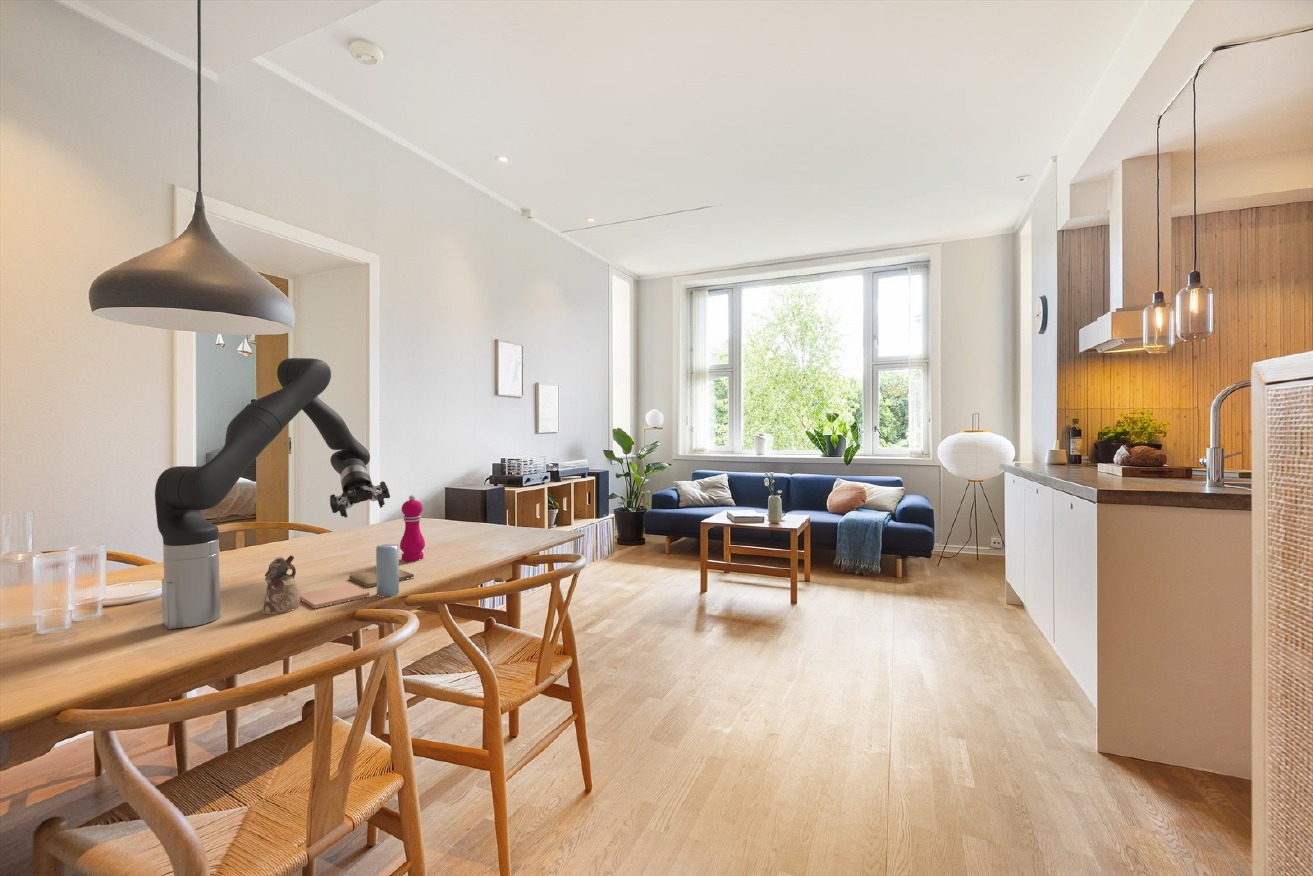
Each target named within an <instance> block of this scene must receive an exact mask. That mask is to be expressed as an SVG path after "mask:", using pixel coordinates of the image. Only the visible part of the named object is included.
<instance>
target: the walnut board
mask: <svg viewBox="0 0 1313 876" xmlns="http://www.w3.org/2000/svg"><path fill="white" fill-rule="evenodd" d="M414 576H415V575H414V574H413V573H410V572H408V571H405V570H403V569H400V568H399V582H401V581H400V580H403V581H405V580H404V579H407V578H411V577H414ZM414 578H415V577H414ZM350 579H351V580H350ZM349 580H350V581H352V580H353V582H354V581H355V582H354V583H357V582H358V583H357V584H359V583H360V584H359V585H361V584H362V585H361V586H363V585H364V586H363V587H365V586H367V587H366V588H368V587H370V588H372V587H371V586H375V587H377V574H376V570H372V571H367V572H362V573H360V572H359V573H356V574H352V575H351V574H350V575H349ZM407 580H408V579H407Z"/></svg>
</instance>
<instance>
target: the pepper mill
mask: <svg viewBox="0 0 1313 876" xmlns="http://www.w3.org/2000/svg"><path fill="white" fill-rule="evenodd" d="M423 509H424V507H423V504H422V502H421V501H419V500H417V499H416V496H415V495H414V494H410V496H409V497H408V500H406V501H405V502H404V503H402V505H401V513H402V514H403V515H404V516H403V521H404V527H405V528H404V532H403V534H402V537H401V539H400V542H399V549H400V550H401V552H403V553H401V561H402V560H403V562H416V561H415V560H418V561H420V560H419V559H422V560H423V559H424V555H425V554H424V552H423V550H424V549H425V546H426V540H425V538H424V536H423V534H422V531H421V529H420V521H421V520H422V515H421V513H422V512H423Z"/></svg>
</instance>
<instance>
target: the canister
mask: <svg viewBox="0 0 1313 876" xmlns="http://www.w3.org/2000/svg"><path fill="white" fill-rule="evenodd" d="M399 549H400V548H399V544H397V543H387V544H385V543H384V544H380V545H379V544H378V545H377V546H376V547H375V555H376V557H375V558H376V559H375V563H376V564H375V565H376V567H375V568H376V569H375V571H376V574H377V586H376V596H377V595H379V596H384V597H383V598H387V597H386V596H391V597H394V596H393V595H395V596H397V595H399V594H398V593H400V581H399V569H400V567H399V562H400V561H399V557H400V556H399V555H400V554H399Z"/></svg>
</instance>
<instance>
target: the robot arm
mask: <svg viewBox="0 0 1313 876" xmlns="http://www.w3.org/2000/svg"><path fill="white" fill-rule="evenodd" d="M276 375H277V379H278V380H277V381H278V382H279V384H280V386H281V388H280V389H278V390H276V391H273V392H271V393H269V394H267V395H264V396H262V397H260V398H257V399H255V400H253V401H252V402H250V403H249V404H248V405H246V406H245V407H244V408H243V409H242V410H240V412H239V413H237V414H236V416H234V417H232V419H231V421H229V423H228V425H227V428H226V432H225V440H224V441H225V442H224V445H223V447H222V449H221V450H220V451H218V453H217V454H216V455H215V456H214V457H213V458H212V459H211V460H209V461H208V462H207V463H205V464H204V465H201V466H198V465H197V466H193V465H191V466H188V465H186V466H185V465H181V466H171V467H169V468H167V469H165V470H164V471H163V472H161V473H160V474H159V476H158V478H157V480H156V483H155V487H154V499H155V500H154V505H155V513H156V514H155V515H156V523H157V529H158V532H159V533H160V534H161V537H162V545H163V546H162V547H163V549H162V550H163V551H162V552H163V577H162V579H161V600H162V601H161V603H162V605H161V607H162V609H161V612H162V624H163V625H164V626H165V627H166V629H167V630H173V629H182V628H190V627H192V628H193V627H198V626H202V625H205V624H208V623H211V622H214V621H216V620H218V619H220V617H221V591H220V590H221V585H220V584H221V583H220V580H221V579H220V578H221V577H220V545H219V544H220V541H219V539H220V537H219V535H220V534H219V532H220V531H219V527H218V525H216V524H214V523H212V522H210V521H209V520H207V519H206V518H205V517H204V515H203V514H202V513H201V511H205V510H209V509H212V508H214V507H217V506H218V505H219V504H221V502H222V501H223V500H225V498H226V497H227V496H228V494H229V493H230V492H231V491H232V489H233V488H234V487H235V486H236V484H237V482H238V481H239V480H240V478H241V477H242V475H243V474H244V473H245V471H246V470H247V469H248V468H249V466H251V464H252V463H254V461H255V460H256V459H257V458H258V457H259V455H260V454H261V453H262V452H263V451H265V449H266V448H267V447H268V446H269V445H270V444H271V443H272V442H273V441H274V440H275V438H277V436H278V435H279V434H280V433H281V432H282V431H283V429H284V428H286V426H287V425H288V424H289V423H290V422H291V421H292V420H293V419H294V418H295V417H296V416H297V415H298V414H299V413H300V412H301V411H303V412H304V414H305V415H306V416H307V417H308V418H309V420H310V421H311V422H312V423H313V425H314V426H315V428H316V429H317V430H318V432H319V434H320V436H321V437H322V438H323V440H324V442H325V443H326V445H327V447H328V448H329V449H330V450H333V451H335V452H333V454H331V456H330V465H331V467H332V468H333V469H334V471H335V472H336V473H337V474H339V475H340V484H341V489H342V493H341V494H340V495H337V496H336V495H335V494H330V495H329V505H330V509H331V512H332V514H337V513H338V512H339V514H340V516H341V517H342V518H343V517H344V519H345V518H348V513H347V510H348V509H351V508H352V507H353V506H354V505H356V504H359V503H361V502H366V501H371V502H375V501H376V502H378V506H379V508H380V509H381V508H383V507H384V505H386V503H385V499H390V498H391V495H390V490H389V488H388V486H387V483H386V482H385V481H380V483H379V484H378V485H374V484H373V481H372V478H371V476H370V473H369V471H368V469H367V465H369V462H371V461H370V460H371V454H370V452H369V450H368V449H367V448H366V446H364V444H362V443H361V442H359V441H358V440H357V439H356V438H355V437H354V436H353V435H352V432H351V431H350V429H349V427H348V426H347V423H346V422H345V421H344V419H343V417H342V416H340V414H338V412H337V411H335V410H334V409H333V408H332V407H330V406H329V405H328V404H327V403H325V402H323V400H322V399H320V397H319V396H320V395H321V394H322V393H323V392H324V391H325V390H326V388H328V385H330V383H331V382H330V381H331V378H332V370H331V368H330V365H329V364H328V363H327V362H325V361H324V360H321V359H318V358H310V357H309V358H307V357H305V358H303V357H290V358H286V359H283V360H282V361H281V362H279V364H278V366H277V369H276Z"/></svg>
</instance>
